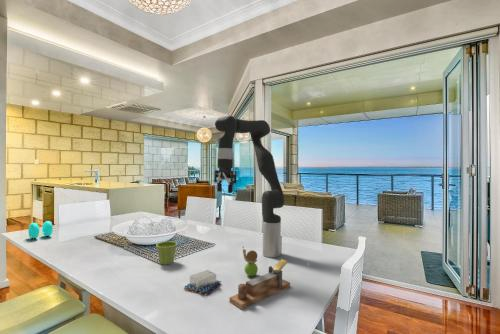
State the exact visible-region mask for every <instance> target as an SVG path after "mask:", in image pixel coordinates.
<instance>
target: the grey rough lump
mask: <svg viewBox="0 0 500 334" xmlns="http://www.w3.org/2000/svg"><path fill="white" fill-rule="evenodd" d="M216 281H217V273H215V272H213V271H211V270H209V269H207V270H204V271H203V270H202V271H201V272H198V273H195V274H191V275H190V276H189V284H191V285H192V286H194V287H195V288H197V289H200V288H202V287H205V286H208V285H210V284H213V283H216Z"/></svg>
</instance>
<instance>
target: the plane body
mask: <svg viewBox="0 0 500 334" xmlns="http://www.w3.org/2000/svg"><path fill="white" fill-rule="evenodd" d="M271 268H273V266H268V272H267V273H266V274H263V275H261V276H258V277H255V278H252V279H250V280H247V281H245V283H240V284H238V286H237V287H238V288H237V289H238V290H237V292H238V293H237V294H234V295H232V296H230V297H229V300H228V301H229V303H230V304H232V305H233V306H235V307H236V308H237V309H240V310H243V309H246V308H247V307H249V306H253V305H254V304H257V303H258V302H260V301H263V300H265V299H267V298H269V297H271V296H273V295H275V294H277V293H280V292H282V291H284V290H286V289H288V288H290V287H291V283H290V281H288V280H285V279H283V269H281V270H280V271H279V274H277V273H275V272H272V271H271Z"/></svg>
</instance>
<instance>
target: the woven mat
mask: <svg viewBox="0 0 500 334" xmlns="http://www.w3.org/2000/svg"><path fill="white" fill-rule="evenodd" d="M221 285H222V281H221V280H217V279H216V283H213V284H210V285H208V286H205V287H202V288H200V289H197V288H195V287H194V286H192V285H191V284H190V283H187V285H184V287H183V289H184V291H186V292H191V293H196V294H199V295H204V296H208V295H211V293H212V292H213V291H215V289H217V288H218V287H219V286H221Z"/></svg>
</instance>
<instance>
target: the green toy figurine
mask: <svg viewBox="0 0 500 334" xmlns="http://www.w3.org/2000/svg"><path fill="white" fill-rule="evenodd" d="M244 248H245V246H242V253H243V259H244V261H245V262H247V263H246V264H245V267H244V272H245V274H246V275H247V276H248V277H254V276H255V275H257V273H258V271H259V270H258V269H259V268H258V265H257V264H256V262H258V260H257V259H258V252H256V251H255V250H249V251H248V252H247V250H246V249H244Z"/></svg>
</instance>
